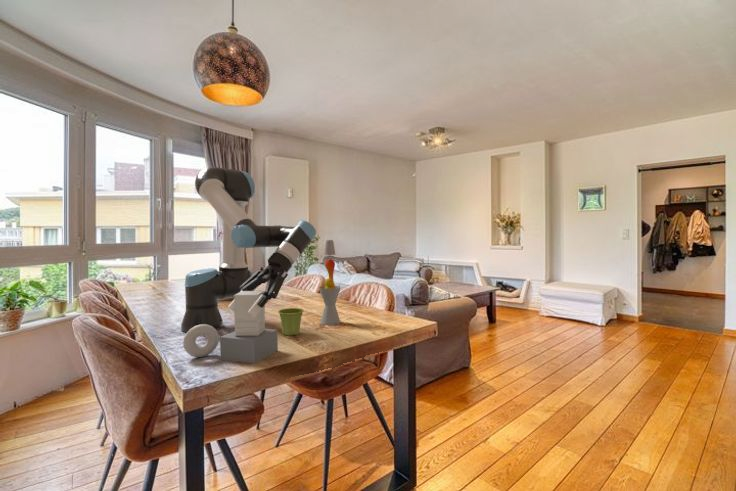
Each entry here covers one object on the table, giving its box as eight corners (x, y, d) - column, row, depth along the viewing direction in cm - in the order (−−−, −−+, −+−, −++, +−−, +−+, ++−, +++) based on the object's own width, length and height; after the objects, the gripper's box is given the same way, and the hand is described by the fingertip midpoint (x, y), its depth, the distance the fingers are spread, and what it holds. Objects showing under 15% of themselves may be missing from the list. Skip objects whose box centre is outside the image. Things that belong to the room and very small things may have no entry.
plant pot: (306, 330, 137) (306, 308, 137) (299, 337, 128) (299, 313, 128) (283, 329, 138) (283, 307, 138) (274, 336, 129) (274, 313, 129)
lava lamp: (321, 319, 154) (321, 239, 153) (342, 319, 154) (341, 239, 153) (317, 325, 145) (316, 240, 144) (339, 325, 145) (338, 240, 144)
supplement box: (265, 329, 113) (265, 290, 113) (258, 336, 106) (258, 294, 105) (242, 329, 113) (242, 290, 113) (233, 336, 106) (233, 294, 106)
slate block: (220, 360, 106) (220, 336, 106) (246, 347, 117) (246, 326, 117) (254, 364, 102) (254, 340, 102) (277, 351, 113) (277, 329, 113)
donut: (184, 361, 104) (183, 328, 103) (182, 358, 106) (182, 325, 106) (220, 355, 109) (219, 323, 109) (218, 352, 112) (217, 320, 112)
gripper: (312, 268, 112) (270, 325, 101) (270, 264, 128) (230, 313, 117) (298, 252, 108) (252, 310, 97) (257, 250, 124) (214, 299, 113)
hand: (240, 312), depth 107 cm, fingers open, 11 cm apart
